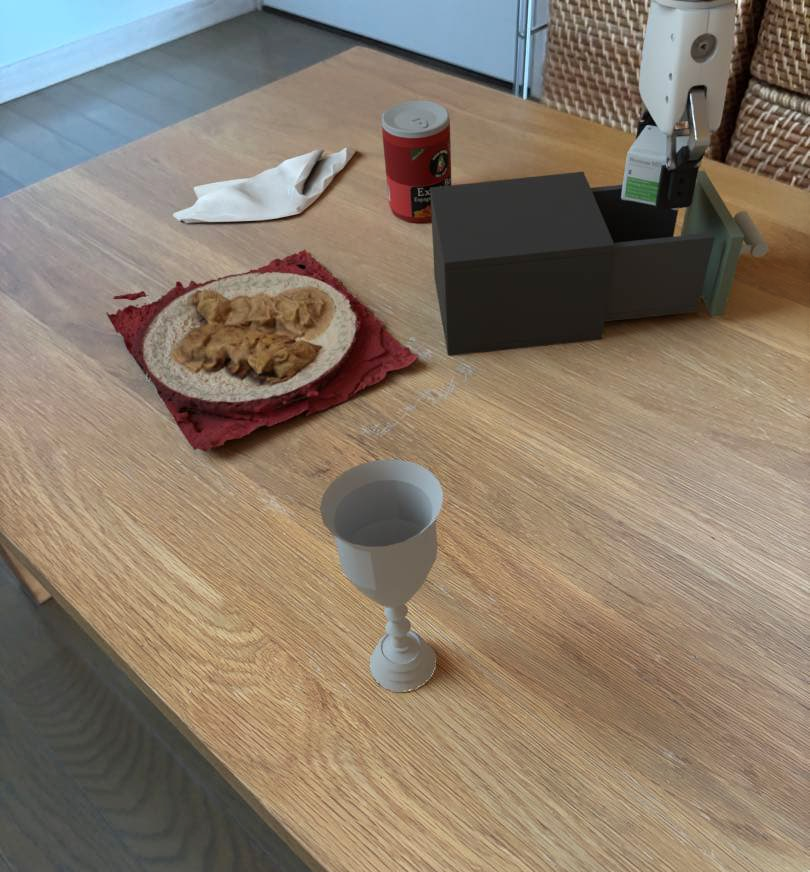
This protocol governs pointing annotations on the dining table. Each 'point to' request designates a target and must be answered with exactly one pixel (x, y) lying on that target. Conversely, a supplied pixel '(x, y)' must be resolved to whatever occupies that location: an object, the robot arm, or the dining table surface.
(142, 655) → the dining table surface
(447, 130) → the canned food
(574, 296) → the cabinet
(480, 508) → the dining table surface
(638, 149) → the small box
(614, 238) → the drawer
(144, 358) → the plate with food
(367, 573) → the chalice
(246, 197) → the cloth
